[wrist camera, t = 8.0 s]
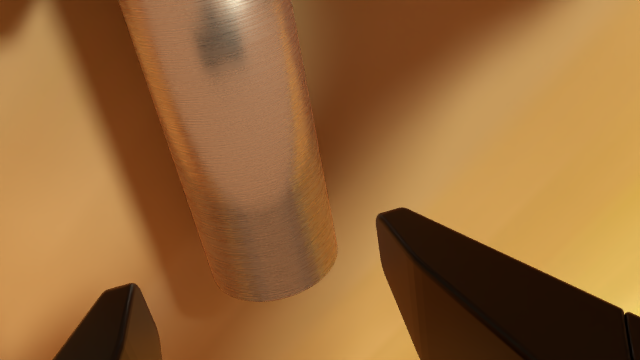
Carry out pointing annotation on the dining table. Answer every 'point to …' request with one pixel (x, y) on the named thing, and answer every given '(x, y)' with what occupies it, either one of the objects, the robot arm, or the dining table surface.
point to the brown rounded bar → (240, 138)
